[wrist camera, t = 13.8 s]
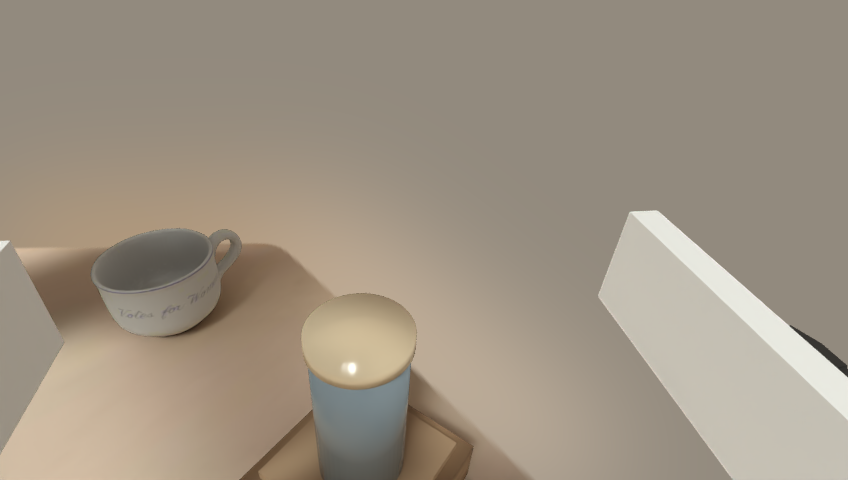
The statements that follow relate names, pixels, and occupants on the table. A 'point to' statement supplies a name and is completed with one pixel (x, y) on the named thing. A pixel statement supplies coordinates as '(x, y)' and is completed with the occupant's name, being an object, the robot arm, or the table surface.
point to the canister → (359, 384)
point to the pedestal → (422, 467)
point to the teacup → (163, 279)
